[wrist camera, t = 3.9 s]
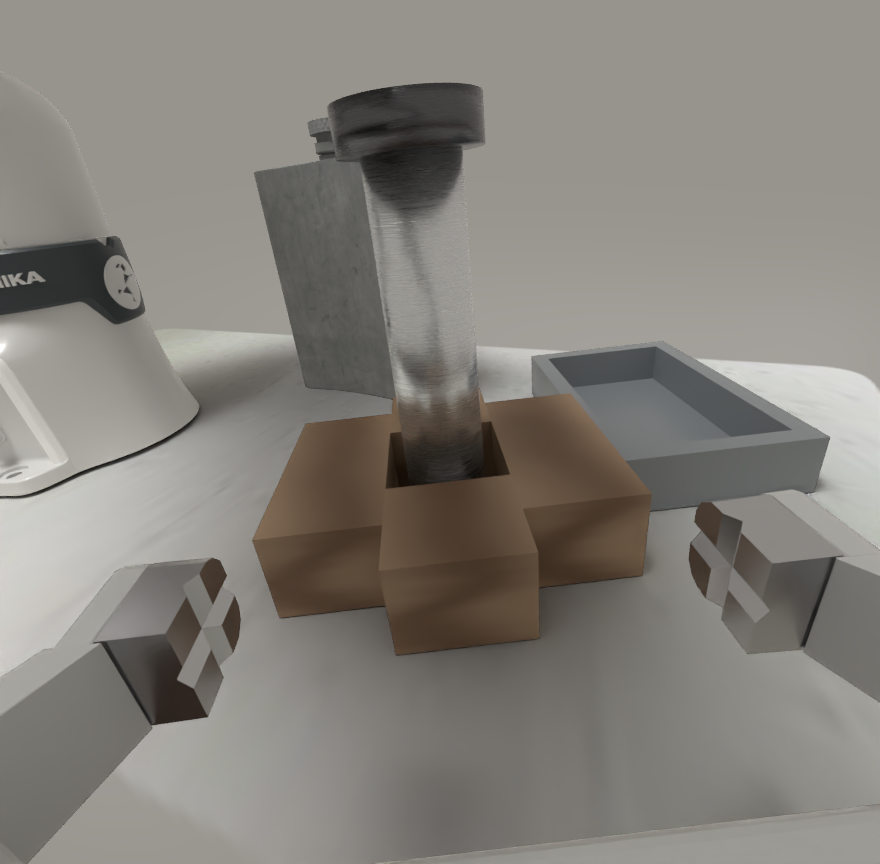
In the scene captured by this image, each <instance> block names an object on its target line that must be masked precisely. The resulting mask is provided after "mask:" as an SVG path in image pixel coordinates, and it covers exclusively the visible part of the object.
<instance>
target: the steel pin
mask: <svg viewBox="0 0 880 864" xmlns="http://www.w3.org/2000/svg"><path fill="white" fill-rule="evenodd" d="M327 111H328V117H329V123H330V128H331V134H332V140H333V146H334V152H335V157H336V161H338V162H360V166H361V172H362V179H363V185H364V192H365V198H366V205H367V211H368V218H369V224H370V231H371V237H372V244H373V250H374V257H375V263H376V270H377V276H378V283H379V289H380V296H381V302H382V309H383V315H384V322H385V328H386V335H387V341H388V348H389V354H390V361H391V367H392V374H393V381H394V387H395V394H396V400H397V407H398V413H399V420H400V426H401V433H402V439H403V446H404V452H405V459H406V465H407V472H408V478H409V485H410V486H416V485H425V484H433V483H442V482H451V481H459V480H468V479H476V478H485V471H484V456H483V442H482V427H481V413H480V398H479V384H478V369H477V355H476V341H475V326H474V312H473V297H472V282H471V268H470V253H469V240H468V225H467V212H466V195H465V181H464V167H463V152H462V151H463V150H468V149H472V148H476V147H479V146H483V145H484V144H485V126H484V106H483V90H482V89H481V88H480V87H478V86H474V85H470V84H462V83H425V84H412V85H403V86H394V87H388V88H381V89H376V90H370V91H365V92H361V93H357V94H353V95H350V96H346V97H343V98H341V99H338V100H336V101H334V102H332V103H330V104H329V105H328V106H327Z"/></svg>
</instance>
